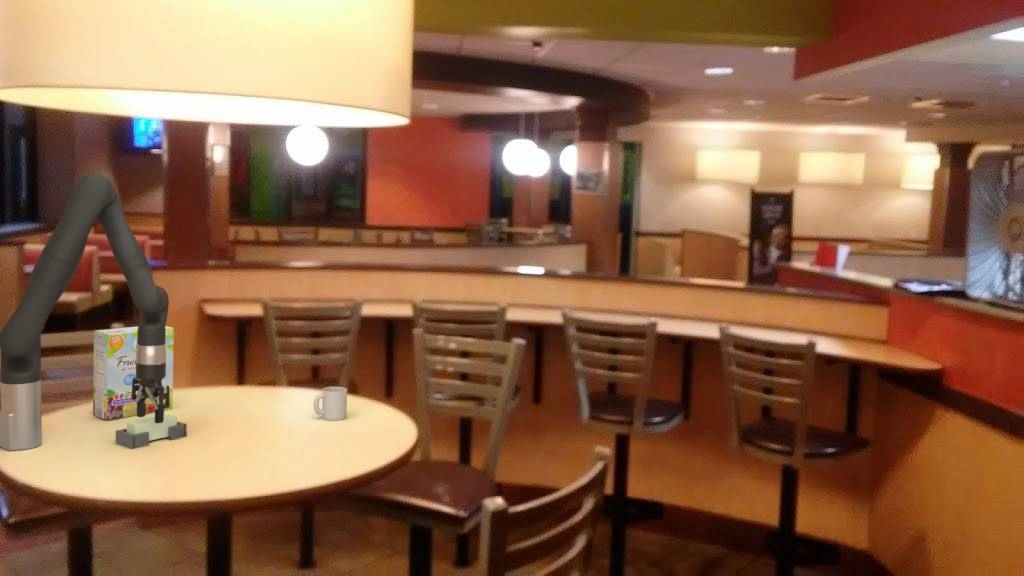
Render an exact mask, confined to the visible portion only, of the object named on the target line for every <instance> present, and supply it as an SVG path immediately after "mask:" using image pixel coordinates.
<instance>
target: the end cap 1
mask: <svg viewBox="0 0 1024 576" xmlns="http://www.w3.org/2000/svg"><path fill="white" fill-rule="evenodd" d="M115 444H116V445H119V446H122V447H125V448H128V449H130V450H135V449H137V448H142V447H146V446H149V445H150V441H149V432H143V433H138V434H130V433H127V432H126V428H123V429H117V430H115Z"/></svg>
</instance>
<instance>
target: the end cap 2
mask: <svg viewBox="0 0 1024 576" xmlns="http://www.w3.org/2000/svg"><path fill="white" fill-rule="evenodd" d="M187 433H188V424H187V423H185V422H181V421H178V420H177V425H175V426H170V427H168V437H164V438H163V439H166V440H170V441H173V440H178V439H182V438H186V437H188V435H187Z"/></svg>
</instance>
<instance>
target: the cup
mask: <svg viewBox="0 0 1024 576" xmlns="http://www.w3.org/2000/svg"><path fill="white" fill-rule="evenodd" d="M321 399H322V405H321V406H322V409H321V408H320V400H321ZM347 400H348V389H347V388H346V387H343V386H327V387H323V388H322V392H321V393H318V394H317V395H316V396H315V397H314V399H313V410H314V412H315V414H317V415H320V416H322V418H323V420H325V421H330V422H332V421H333V422H335V421H336V422H337V421H338V422H339V421H343V420H345V419H346V418H347V411H348V409H347V408H348V407H347V406H348V405H347V404H348V401H347Z"/></svg>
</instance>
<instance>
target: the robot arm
mask: <svg viewBox="0 0 1024 576" xmlns="http://www.w3.org/2000/svg"><path fill="white" fill-rule="evenodd" d="M73 187H74V188H73V190H72V192H71V196H70V197H69V200H68V203H67V205H66V208H65V210H64V212H63V214H62V217H61V219H60V220H59V222H58V223H57V226H55V228H54V230H53V231H52V233H51V235H50V236H49V238H48V239H47V242H46V244H45V245H44V247H43V249H42V250H41V252H40V254H39V256H38V258H37V260H36V262H35V264H34V266H33V268H32V271H31V273H30V276H29V278H28V281H27V283H26V286H25V289H24V292H23V294H22V297H21V299H20V302H19V304H18V305H17V307H16V309H15V310H14V312H13V313H12V315H11V317H9V319H8V321H7V322H6V323H5V324H4V325H3V326H2V328H1V330H0V448H2V449H4V450H6V451H10V452H11V451H21V450H30V449H34V448H37V447H39V446H41V445H42V444H43V433H42V432H43V431H42V429H43V427H42V423H43V422H42V385H41V384H42V381H41V380H42V379H41V376H42V375H41V374H42V373H41V372H42V371H41V370H42V352H41V351H42V343H41V342H42V339H41V335H42V332H43V330H44V327H45V325H46V322H47V320H48V318H49V315H50V313H51V312H52V310H53V308H54V307H55V306H56V304H57V303H58V301H59V300H60V299H61V297H62V295H63V294H64V292H66V289H67V288H68V286H69V284H70V283H71V281H72V280H73V278H74V276H75V273H76V272H77V270H78V267H79V265H80V263H81V261H82V258H83V256H84V253H85V250H86V246H87V243H88V238H89V236H90V235H89V234H90V232H91V230H92V227H93V226H94V224H95V222H96V220H97V221H98V222H99V224H100V225H101V227H102V229H103V231H104V234H105V236H106V239H107V241H108V244H109V248H110V249H111V253H112V255H113V257H114V259H115V262H116V264H117V265H118V267H119V269H120V272H121V273H122V275H123V277H124V278H125V281H126V284H127V287H128V289H129V290H128V291H129V293H130V297H131V298H132V301H133V303H134V306H135V307H136V308H137V309H138V311H140V312H141V319H140V323H139V324H138V333H137V350H136V378H134V379H133V380H132V400H135V402H136V403H137V415H136V417H137V418H143V417H145V416H146V414H147V413H146V403H144V402H145V401H146V400H147V398H149V399H150V401H151V402H152V403H153V404H154V407H155V409H156V410H155V412H154V417H155V423H157V424H158V423H162V422H163V421H164V415H165V410H164V409H165V408H168V407H170V394H169V386H168V385H167V386H162V382H161V381H162V379H163V378H165V376H166V347H165V338H166V331H165V326H167V325H166V324H167V320H168V313H169V307H170V305H169V303H170V302H169V301H170V299H169V298H170V297H169V294H168V292H167V290H166V289H165V288H163V287H162V286H160V285H156V283H155V281H154V279H153V277H152V273H153V272H152V271H153V270H152V267H151V265H150V263H149V260H148V259H147V256H146V255H145V253H144V250H143V249H142V248H141V245H140V244H139V242H138V240H137V238H136V236H135V234H134V233H133V231H132V230H131V226H130V225H129V223H128V221H127V219H126V216H125V214H124V212H123V209H122V206H121V202H120V199H119V196H118V193H117V189H116V186H115V184H114V182H113V181H112V180H111V179H110V178H109V177H107V176H105V175H103V174H101V173H98V172H97V173H96V172H90V173H86V174H83V175H82V176H80V178H78V180H76V183H75V185H74V186H73ZM136 391H138V393H137V395H136ZM158 396H159V398H157V397H158ZM164 399H165V402H166V403H164ZM157 402H159V405H158V403H157Z"/></svg>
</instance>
